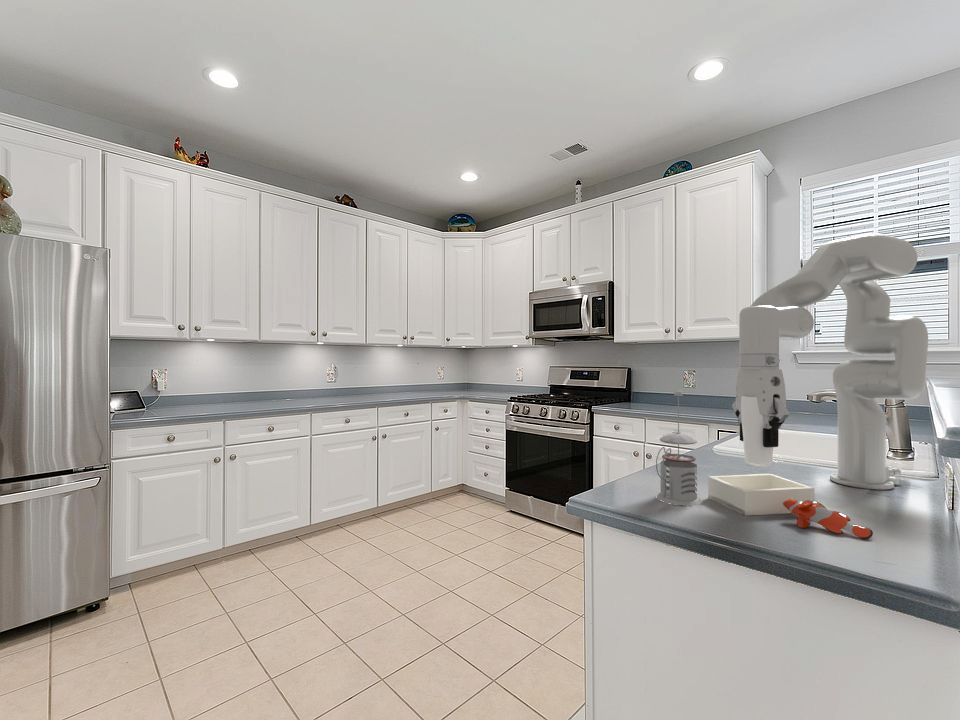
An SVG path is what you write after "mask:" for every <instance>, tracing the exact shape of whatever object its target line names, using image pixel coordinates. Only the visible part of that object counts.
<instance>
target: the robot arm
mask: <svg viewBox="0 0 960 720" xmlns="http://www.w3.org/2000/svg"><path fill="white" fill-rule="evenodd" d="M917 263H918V252H917V250H916V248H915V247H914V246H913V244H911V242H909V241H907V240H905V239H901V238H897V237H896V236H895V237H894V236H892V235H891V236H890V235H886V234H880V233H865V234H864V233H863V234H859V235H855V236H854V235H853V236H851V237H846V238H841V239H835V240H832V241H831V240H830V241H828V242H826V243H824V244H821V245H819V247H818V248H817V249H816V250H814V252H813V254H812V255H811V256H810V257H809V258H808V259H807V261H806V263H805V264H804V265H803V266H802V267H801V268H800V269H799V270H798V271H797V273H796V274H795V275H794V276H792V277H790V278H788V279H785V280H784V281H782V282H780V283H779V284H777V285H776V286H773V287H772V288H770V289H769V290H767V291H766V292H764V293H762V294H760V295H759V296H758V297H757V298H756V299H755V300H754V301H753V302H752V303H751V304H750V306H747V307H744V308H742V309H741V310H740V311H739V312H740V313H739V318H738V319H739V320H738V321H739V322H738V323H739V325H738V327H739V328H738V330H739V331H738V332H739V336H738V337H739V338H738V339H739V341H738V343H739V345H738V349H739V350H738V351H739V355H738V357H739V358H738V359H739V361H738V364H739V365H738V366H739V367H738V372H737V376H736V377H737V378H736V387H735V400H734V401H733V403H732V404H731V407H732V409H733V410H734V413H735V415H736V418H737V422H738V424H739V441H740V442H743V431H742V421H741V396H748V397H757V402H758V408H759V413H760V414H761V415H763V420H764V424H765V427H766V428H763V446H764V447H773V448H778V447H779V438H780V437H779V430H780V429H781V428H782V425H783V424H784V422H785V421H786V420H787V418H788V417H790V411H789V410H788V408H787V395H786V384H785V378H784V374H783V371H782V369H780V363H781V362H780V361H781V359H780V341H794V340H800V339H804V338H805V337H807V336H808V335H809V334H810V333H811V332H812V330H813V328H814V324H815V321H814V319H815V318H814V316H813V314H812V313H811V312H810V311H809V310H808V309H806V307H809V306H812V305H814V304H817V303H819V302H822V301H824V300H826V299H827V298H828V297H830V295H832V293H833V292H834V291H835V289H836V288H837V287H838V286H839V287H840V289H841V290H842V292H843V294H844V296H845V298H846V299H845V300H846V316H845V325H844V326H845V328H844V336H843V337H844V339H843V341H844V343H843V344H844V347H845V349H846V350H847V351H848V352H849V353H851V354H853V355H861V356H862V355H863V356H894V359H849V360H845V361H843V362H841V363H839V364H837V365H836V367H835V368H834V369H833V372H832V383H833V388H834V391H835V396H836V406H837V411H836V412H837V472H832V473H831V474H829V479H830V480H831V481H832V482H833V483H836V484H840V485H843V486H848V487H852V488H859V489H865V490H866V489H867V490H891V489H894V488H895V483H894V482H893V481H892V480H890V477H891V476H892V477H897V476H901V474H902V471H901V469H900V468H898V467H891V468H890V467H889V466H886V461H887V460H886V459H887V457H886V456H887V455H886V454H887V451H886V449H887V447H886V446H887V443H886V441H887V439H886V438H887V433H886V432H887V430H886V429H887V427H886V425H887V419H886V413H885V412H884V409H883V408H882V406H881V405H880V404H879V403H878V401H877V400H876V399H882V400H883V399H885V400H900V401H902V400H903V401H904V400H905V401H909V400H914V399H916V398H918V397H920V395H921V394H922V393H923V390H924V387H925V384H926V383H925V381H926V372H927V371H926V370H927V361H928V359H927V358H928V349H929V331H928V329H927V326H926V324H925V322H924V321H923V319H921V318H920V317H917V316H914V315H895V316H894V315H893V316H890V315H891V314H890V312H891V298H890V295H889V294H888V293H887V291H886V290H885V289H884V288H883V287H882V286H881V285H879V284H878V283H877V282H876V281H877V280H884V279H892V278H899V277H903V276H907V275H908V274H910V273H911V272H912V271H914V269H915V267H916V266H917ZM772 405H773V410H774V413H770V408H772ZM769 417H773V419H772V420H771V421H770V418H769Z"/></svg>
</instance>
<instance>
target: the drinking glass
mask: <svg viewBox="0 0 960 720" xmlns="http://www.w3.org/2000/svg"><path fill="white" fill-rule="evenodd" d="M770 413H774V410H773V405H772V408H770ZM769 418H770V421H771V420H772V419H773V417H769ZM741 421H742V431H743V441H742V442H743V451H744V452H743V455H744V458H743V459H744V460H743V461H744V462H745V463H746V464H748V465H751V466H758V467H769V466H770V467H771V466H772V465H773V463H774V462H773V461H774V460H773V459H774V457H773V456H774V447H764V446H763V428H766V427H765V424H764V420H763V415H761V414H760V413H759V408H758V402H757V397H748V396H741Z"/></svg>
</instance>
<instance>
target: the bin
mask: <svg viewBox="0 0 960 720" xmlns="http://www.w3.org/2000/svg"><path fill="white" fill-rule="evenodd" d="M707 478H708V479H707V484H708V485H707V495H708V499H710V500H712V501H714V502H716V503H717V504H720V505H722V506H724V507H726V508H728V509H730V510H732V511H734V512H736V513H738V514H740V515H743V516H745V517H747V516H749V517H750V516H764V515H765V516H767V515H782V514H792V513H791V512H790V511H789V510H788V509H787V508H786V507H785V506H784V505H783V502H784V501H785V500H788V499H793V500H801V501H806V500H809V501H812V502H815V488H814V487H812V486H810V485H806V484H803V483H800V482H797V481H794V480H791V479H787V478H784V477H782V476H779V475H776V474H772V473H754V474H753V473H751V474H734V475H733V474H731V475H730V474H729V475H710V476H708V477H707Z"/></svg>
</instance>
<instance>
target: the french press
mask: <svg viewBox="0 0 960 720" xmlns="http://www.w3.org/2000/svg"><path fill="white" fill-rule="evenodd" d="M683 394H684V392H682V391H681V390H676V391H674V393H673V396H674V397H677V431H676V432H669V433H666V434H665V435H664V434H663V436H661V437H659V441H660V442H662V443H665V444H671V445H677V453H672V448H671V447H669V448H667V450H666V448H665V447H664V446H663V447H661V448H660V449H659V451H658V453H657V456H656V460H655V469H656V473H657V475H658V477H659V478H660V492H659V493H657V494H656V495H657V498H658V499H659V500H662V501H664V502H667V503H666V504H668V503H671V504H670V505H672V504H676V505H675V506H679V505H684V506H683V507H693V506H694V505H695V506H699V505H701V504H702V503H703V502H702V501H703V500H702V499H701V498H700V497H699V496H698V494H697V492H698V488H697V487H698V483H697V481H698V477H697V475H698V464H696V463H694V462H695V461H696V457H694V456H692V455H688V454H684V453H683V454H681V453H680V445H685V446H686V445H689V446H690V445H695V444H697V443H698V441H699V440H698V439H696V438H695V437H694V436H692V435H691V434H688V433H687V434H686V433H682V432H680V397H683V396H684V395H683ZM662 450H663V453H664V454H662V456H661V458H662V461H660V472H659V469H658V458H659V456H660V453H661V451H662ZM667 468H668V469H667ZM659 473H660V474H659ZM668 474H669V475H668ZM657 498H656V499H657ZM658 499H657V500H658ZM659 500H658V501H659ZM662 501H661V502H662ZM664 502H663V503H664ZM687 505H688V506H687Z"/></svg>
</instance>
